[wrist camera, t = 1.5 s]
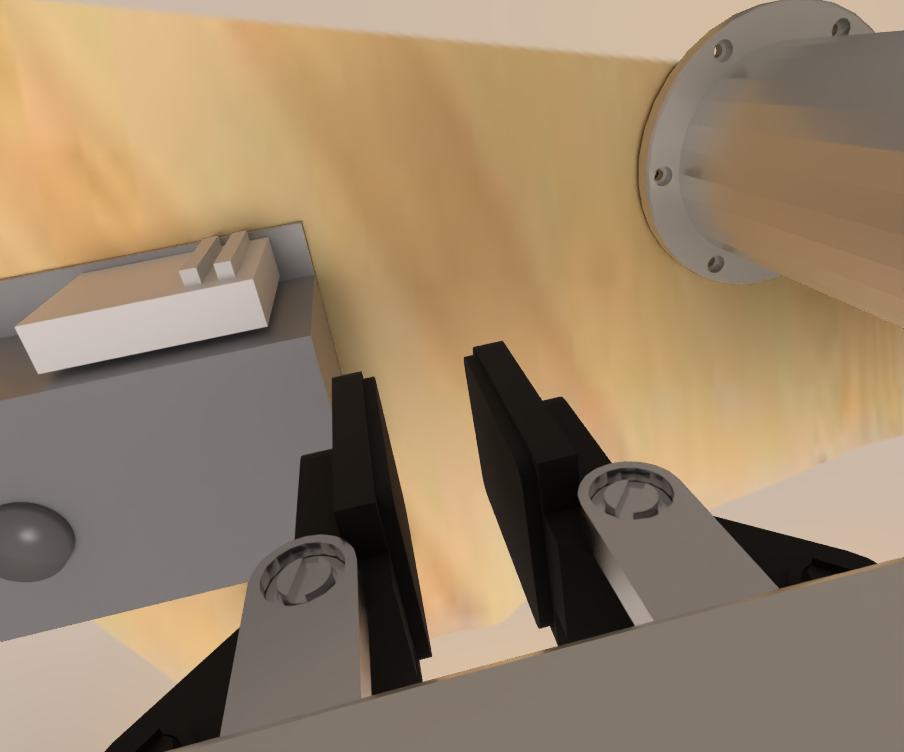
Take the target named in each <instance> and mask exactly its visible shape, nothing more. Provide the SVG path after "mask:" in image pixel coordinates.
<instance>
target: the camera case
mask: <svg viewBox="0 0 904 752" xmlns="http://www.w3.org/2000/svg"><path fill="white" fill-rule="evenodd" d="M247 233H248V236H249V240H255V239H260V238H265V237H269V240H270V243H271V247H272V250H273V254H274V257H275V261H276V264H277V267H278V271H279V274H280V278H279V282H278V286H277V290H276V294H275V298H274V303H273V307H272V311H271V315H270V319H269V323H268V327H263V328H258V329H253V330H249V331H244V332H239V333H234V334H229V335H225V336H220V337H215V338H210V339H205V340H201V341H196V342H191V343H186V344H181V345H176V346H172V347H167V348H162V349H157V350H152V351H148V352H143V353H138V354H133V355H128V356H124V357H119V358H114V359H109V360H104V361H100V362H95V363H90V364H85V365H80V366H76V367H71V368H66V369H61V370H56V371H51V372H47V373H42V374H38V373H37V371H36V369H35V367H34V365H33V363H32V361H31V359H30V357H29V355H28V353H27V351H26V349H25V347H24V345H23V343H22V341H21V339H20V337H19V335H18V333H17V331H16V329H15V326H16V325H17V324H19V323H20V322H21V321H22V320H24V319H25V318H26V317H27V316H29V315H30V314H31V313H32V312H34V311H35V310H36V309H37V308H39V307H40V306H41V305H42V304H44V303H45V302H46V301H47V300H49V299H50V298H51V297H53V296H54V295H55V294H56V293H58V292H59V291H60V290H61V289H63V288H64V287H65V286H66V285H68V284H69V283H70V282H71V281H73V280H74V279H75V278H76V277H78V276H79V275H80V274H81V273H86V272H91V271H96V270H101V269H106V268H112V267H117V266H122V265H127V264H132V263H137V262H142V261H147V260H152V259H158V258H163V257H168V256H173V255H178V254H183V253H188V252H193V251H194V250H195V249H196V248H197V246H198V245H199V244H200V243H201V241H202V240H201V241H196V242H191V243H186V244H181V245H176V246H170V247H165V248H160V249H155V250H150V251H145V252H140V253H134V254H129V255H124V256H119V257H114V258H109V259H103V260H98V261H93V262H88V263H83V264H78V265H73V266H67V267H62V268H57V269H52V270H47V271H42V272H36V273H31V274H26V275H21V276H16V277H11V278H5V279H0V641H1V642H3V641H7V640H11V639H15V638H19V637H23V636H27V635H31V634H36V633H39V632H43V631H48V630H51V629H56V628H60V627H64V626H68V625H72V624H77V623H81V622H85V621H89V620H93V619H97V618H101V617H105V616H110V615H114V614H118V613H122V612H126V611H130V610H134V609H138V608H142V607H146V606H151V605H155V604H159V603H163V602H167V601H171V600H175V599H179V598H183V597H188V596H192V595H196V594H200V593H204V592H208V591H212V590H216V589H220V588H225V587H229V586H233V585H237V584H241V583H245V582H249V580H250V578H251V575H252V572H253V571H254V570H255V568H256V567H257V566H258V565H259V563H260V562H261V561H262V560H263V559H264V558H265V557H266V556H268V555H269V554H270V553H271V552H272V551H274V550H275V549H277V548H279V547H280V546H282V545H284V544H286V543H288V542H290V541H293V540H294V538H295V524H296V511H297V497H298V483H299V470H300V459H301V456H302V455H306V454H310V453H314V452H319V451H323V450H328V449H332V378H333V377H338V376H342V374H341V370H340V367H339V363H338V359H337V355H336V351H335V348H334V344H333V340H332V336H331V332H330V328H329V325H328V321H327V317H326V313H325V309H324V306H323V302H322V298H321V294H320V290H319V287H318V283H317V279H316V275H315V271H314V268H313V264H312V260H311V256H310V252H309V249H308V245H307V241H306V237H305V233H304V229H303V226H302V222H301V221H299V222H294V223H289V224H284V225H279V226H274V227H268V228H263V229H258V230H253V231H248V232H247ZM230 236H231V235H227V236H222V237H219V240H220V243H221V246H224V245H225V244H226V242H227V241H228V239H229V238H230Z"/></svg>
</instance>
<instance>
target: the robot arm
mask: <svg viewBox="0 0 904 752" xmlns="http://www.w3.org/2000/svg"><path fill="white" fill-rule="evenodd" d="M715 47H716V50H717V51H716V54H715V56H714V48H715ZM657 170H658V171H659V174H658V176H657V178H655V179H654V176H655V173H656V171H657ZM638 184H639V190H640V196H641V203H642V208H643V211H644V214H645V216H646V219H647V222H648V224H649V227H650V230H651V231H652V233H653V234H654V236H655V238H656V239H657V241H658V242H659V244H660V245H661V247H662V248H663V249H664V250H665V251H666V252H667V253H668V254H669V255H670V256H671V257H672V258H673V259H674V260H675V261H676V262H677V263H679V264H681V265H682V266H684V267H686V268H687V269H689V270H691V271H692V272H694V273H696V274H698V275H700V276H702V277H705V278H707V279H709V280H713V281H718V282H723V283H728V284H755V283H759V282H764V281H768V280H773V279H776V278H779V277H781V276H785V277H787V278H789V279H792V280H794V281H796V282H798V283H801V284H803V285H805V286H807V287H810V288H812V289H814V290H817V291H819V292H821V293H823V294H826V295H828V296H830V297H832V298H835V299H837V300H839V301H842V302H844V303H846V304H848V305H851V306H853V307H855V308H857V309H860V310H862V311H864V312H867V313H869V314H871V315H873V316H876V317H878V318H880V319H883V320H885V321H887V322H889V323H892V324H894V325H896V326H898V327H901V328H903V329H904V31H893V32H881V33H875V32H874V31H873V29H872V28H870V26H868V25H867V24H866V23H865V22H864V21H863V20H862V19H861V18H860V17H858V16H857V15H856V14H855V13H853V12H851V11H849V10H847V9H845V8H843V7H841V6H839V5H837V4H835V3H832V2H827V1H822V0H779V1H775V2H770V3H765V4H760V5H758V6H755V7H752V8H750V9H747V10H745V11H742V12H740V13H737V14H735V15H733V16H732V17H730V18H729V19H727V20H725V21H724V22H722V23H721V24H719V25H718V26H716V27H715V28H713V29H712V30H710V31H709V32H708V33H707V34H706V35H705V36H703V37H702V38H701V39H700V40H699V41H698V42H697V43H696V44H695V45H694V46H693V47H692V48H691V49H690V50H688V51H687V53H686V54H685V56H684V57H683V58H682V59H681V60H680V62H679V63H678V64H677V66H676V67H675V68H674V69H673V71H672V72H671V73H670V75H669V76H668V78H667V80H666V82H665V83H664V85H663V87H662V89H661V91H660V93H659V94H658V96H657V98H656V100H655V102H654V104H653V107H652V110H651V113H650V115H649V118H648V121H647V124H646V126H645V129H644V134H643V139H642V144H641V150H640V155H639V182H638ZM464 366H465V372H466V378H467V384H468V391H469V397H470V403H471V409H472V415H473V421H474V427H475V434H476V440H477V446H478V452H479V458H480V464H481V470H482V476H483V481H484V485H485V489H486V493H487V495H488V498H489V501H490V503H491V506H492V509H493V511H494V514H495V516H496V519H497V522H498V524H499V527H500V530H501V532H502V535H503V537H504V540H505V543H506V545H507V548H508V551H509V553H510V556H511V558H512V561H513V564H514V566H515V569H516V572H517V574H518V577H519V579H520V582H521V585H522V587H523V590H524V593H525V595H526V598H527V601H528V603H529V606H530V608H531V611H532V614H533V616H534V619H535V621H536V624H537V626H538V628H539V629H540V628H543V627H548V626H550V627H551V630H552V632H553V635H554V637H555V640H556V642H557V645H558V646H557V647H553V648H549V649H545V650H542V651H538V652H534V653H530V654H526V655H523V656H519V657H515V658H511V659H508V660H504V661H500V662H496V663H492V664H489V665H485V666H481V667H477V668H474V669H470V670H466V671H462V672H458V673H455V674H451V675H447V676H443V677H440V678H436V679H432V680H429V681H425V682H423V681H422V675H421V668H420V662H419V660H421V659H425V658H429V657H432V653H431V646H430V641H429V635H428V630H427V624H426V619H425V613H424V607H423V602H422V596H421V591H420V585H419V580H418V574H417V569H416V563H415V557H414V552H413V546H412V541H411V535H410V530H409V524H408V518H407V513H406V508H405V503H404V499H403V494H402V490H401V486H400V481H399V477H398V473H397V469H396V465H395V460H394V456H393V452H392V448H391V443H390V439H389V435H388V431H387V427H386V422H385V418H384V414H383V410H382V405H381V401H380V397H379V393H378V388H377V384H376V380H375V377H370V378H366V379H364V378H363V375H362V372H356V373H352V374H347V375H343V376H338V377H333V378H332V449H328V450H323V451H319V452H314V453H310V454H306V455H302V456H301V459H300V470H299V483H298V497H297V511H296V524H295V538H294V540H293V541H290V542H288V543H286V544H284V545H282V546H280V547H279V548H277V549H275V550H274V551H272V552H271V553H270V554H269V555H268V556H266V557H265V558H264V559H263V560H262V561H261V562H260V563H259V565H258V566H257V567H256V568H255V570H254V571H253V572H252V575H251V578H250V580H249V583H248V586H247V592H246V597H245V602H244V608H243V613H242V619H241V624H240V627H239V628H238V629H237V630H236V631H235V632H234V633H233V634H232V635H231V636H230V637H228V638H227V639H226V640H225V641H224V642H223V643H222V644H221V645H220V646H219V647H217V648H216V649H215V650H214V651H213V652H212V653H211V654H210V655H209V656H208V657H206V658H205V659H204V660H203V661H202V662H201V663H200V664H199V665H198V666H197V667H195V668H194V669H193V670H192V671H191V672H190V673H189V674H188V675H187V676H186V677H184V678H183V679H182V680H181V681H180V682H179V683H178V684H177V685H176V686H175V687H174V688H172V689H171V690H170V691H169V692H168V693H167V694H166V695H165V696H164V697H163V698H162V699H161V700H159V701H158V702H157V703H156V704H155V705H154V706H153V707H152V708H150V709H149V710H148V711H147V712H146V713H145V714H144V715H143V716H142V717H141V718H139V719H138V720H137V721H136V722H135V723H134V724H133V725H132V726H131V727H130V728H128V729H127V730H126V731H125V732H124V733H123V734H122V735H121V736H120V737H119V738H117V739H116V740H115V741H114V742H113V743H112V744H111V745H110V746H109V747H108V749H107V750H106V751H105V752H904V557H903V558H898V559H894V560H890V561H886V562H883V563H879V564H877V563H875V562H874V561H872V560H870V559H868V558H866V557H863V556H860V555H858V554H855V553H852V552H849V551H846V550H842V549H838V548H834V547H830V546H827V545H823V544H819V543H815V542H811V541H807V540H803V539H800V538H796V537H792V536H788V535H784V534H780V533H776V532H773V531H769V530H765V529H761V528H757V527H753V526H750V525H746V524H742V523H738V522H734V521H730V520H726V519H723V518H719V517H715V516H712V515H711V514H710V512H709V511H708V510H707V509H706V508H705V507H704V506H703V505H702V504H701V502H700V501H699V500H698V499H697V498H696V497H695V496H694V495H693V494H692V493H691V491H690V490H689V489H688V488H687V487H686V486H685V485H684V484H683V483H682V482H681V481H680V479H678V478H677V477H676V476H675V475H673V474H672V473H671V472H669V471H667V470H665V469H663V468H661V467H658V466H656V465H652V464H647V463H643V462H625V461H624V462H617V463H611V461H610V460H609V459H608V457H607V456H606V455H605V453H604V452H603V451H602V449H601V448H600V446H599V445H598V444H597V442H596V441H595V440H594V438H593V437H592V436H591V434H590V433H589V431H588V430H587V429H586V427H585V426H584V425H583V423H582V422H581V421H580V419H579V418H578V416H577V415H576V414H575V412H574V411H573V410H572V408H571V407H570V406H569V404H568V403H567V402H566V400H565V399H564V398H563V397H556V398H552V399H548V400H543V401H542V400H541V398H540V397H539V395H538V394H537V392H536V390H535V389H534V387H533V386H532V384H531V383H530V381H529V380H528V378H527V377H526V375H525V374H524V372H523V371H522V369H521V368H520V366H519V365H518V363H517V362H516V360H515V359H514V357H513V356H512V354H511V353H510V351H509V350H508V348H507V347H506V345H505V344H504V342H503V341H499V342H495V343H490V344H485V345H481V346H476V347H473V355H471V356H466V357H464Z"/></svg>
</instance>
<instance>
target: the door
mask: <svg viewBox="0 0 904 752" xmlns="http://www.w3.org/2000/svg"><path fill="white" fill-rule="evenodd" d="M279 278H280V274H279V271H278V267H277V264H276V261H275V257H274V254H273V250H272V247H271V243H270V240H269V237H265V238H260V239H255V240H249V236H248V233H247V230H245V231H239V232H234V233H232V234H231V236H230V238H229V239H228V241H227V242H226V244H225V245H224V246H221V243H220V240H219V237H218V236H214V237H209V238H204V239H203V240H202V241H201V243H200V244H199V245H198V246H197V248H196V249H195V250H194V251H193V252H188V253H183V254H178V255H173V256H168V257H163V258H158V259H152V260H147V261H142V262H137V263H132V264H127V265H122V266H117V267H112V268H106V269H101V270H96V271H91V272H86V273H81V274H80V275H79V276H78V277H76V278H75V279H74V280H73V281H71V282H70V283H69V284H68V285H66V286H65V287H64V288H63V289H61V290H60V291H59V292H58V293H56V294H55V295H54V296H53V297H51V298H50V299H49V300H47V301H46V302H45V303H44V304H42V305H41V306H40V307H39V308H37V309H36V310H35V311H34V312H32V313H31V314H30V315H29V316H27V317H26V318H25V319H24V320H22V321H21V322H20V323H19V324H17V325H16V326H15V329H16V331H17V333H18V335H19V337H20V339H21V341H22V343H23V345H24V347H25V349H26V351H27V353H28V355H29V357H30V359H31V361H32V363H33V365H34V367H35V369H36V371H37V373H38V374H42V373H47V372H51V371H56V370H61V369H66V368H71V367H76V366H80V365H85V364H90V363H95V362H100V361H104V360H109V359H114V358H119V357H124V356H128V355H133V354H138V353H143V352H148V351H152V350H157V349H162V348H167V347H172V346H176V345H181V344H186V343H191V342H196V341H201V340H205V339H210V338H215V337H220V336H225V335H229V334H234V333H239V332H244V331H249V330H253V329H258V328H263V327H268V323H269V319H270V315H271V311H272V307H273V303H274V298H275V294H276V290H277V286H278V282H279Z"/></svg>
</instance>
